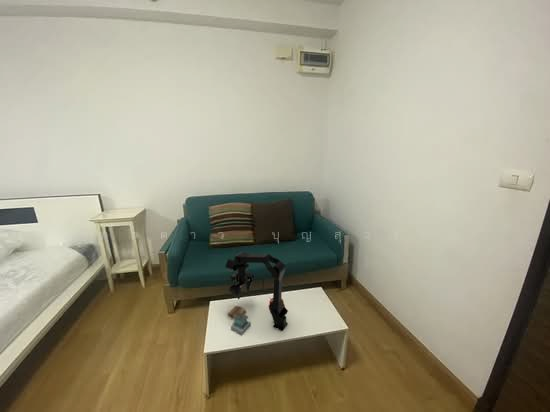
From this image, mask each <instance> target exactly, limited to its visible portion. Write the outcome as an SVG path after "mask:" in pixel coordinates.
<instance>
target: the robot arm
mask: <svg viewBox="0 0 550 412" xmlns="http://www.w3.org/2000/svg"><path fill="white" fill-rule="evenodd" d="M249 263H250V264H251V263H253V264H257V263H258V264H264V266H265V267H266V269H267V271H268V272H269V273H270V275H271V278H272V280H273V282H272V283H273V284H272V285H273V288H272V289H273V291H272V294H273V295H272V296H273V297H272V298H273V300H272V302H271V303H269V304H268V307H269V306H270V309H269V308H268V309H269V313H270V315H271V317H272V320H273V328H274V329H277V330H279V331H281V332H283V331H284V330H285V328H286V327H287V326H288V322H287V314H288V312H289V310H288V309H287V307H286V306H284V305H285V303H283V301H284V300H283V301H282V299H283V298H282V296H283V295H282V294H283V293H282V291H283V289H282V288H283V277H284V274H285V271H286V264H284V263H283V262H282V261H281V260H280V259H278V258H276V257H274V256H272V254H269V253H265V254H264V253H263V254H262V253H261V254H259V253H256V254H254V253H253V254H250V253H249V252H245V251H241V252H239V253H238V254H236V255H235V256H234V258H233V259H232V258H228V259H227V261H226V262H225V265H224V266H225V267H224V268H225V269H226V270H229V271H232V272H235V273H233V274H231V275H230V276H228V282H230V283H231V282H235V283H236V284H232V285H230V286H229V287H228V291H229V292H230V293H232V294H234V295H235V297H236V298H237V300H240V298H241V293H242V287H243V286H244V285H245V286H246V291H248V292H249V291H250V289H251V287H252V285H253V283H254V281H255V280H256V275H255V274H253V273H251V272H248V271H247V269H248V268H249V267H250V264H249ZM271 263H273V264H274V265H273V266H272V264H271ZM281 298H282V299H281Z"/></svg>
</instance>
